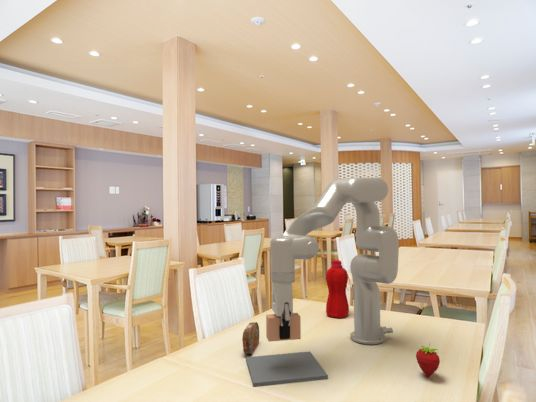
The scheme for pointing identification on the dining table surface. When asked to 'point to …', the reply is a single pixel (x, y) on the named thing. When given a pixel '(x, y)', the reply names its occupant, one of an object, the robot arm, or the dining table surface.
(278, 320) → the card box
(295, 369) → the mat
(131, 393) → the dining table surface
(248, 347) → the brown rounded slab
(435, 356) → the strawberry
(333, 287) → the water bottle
